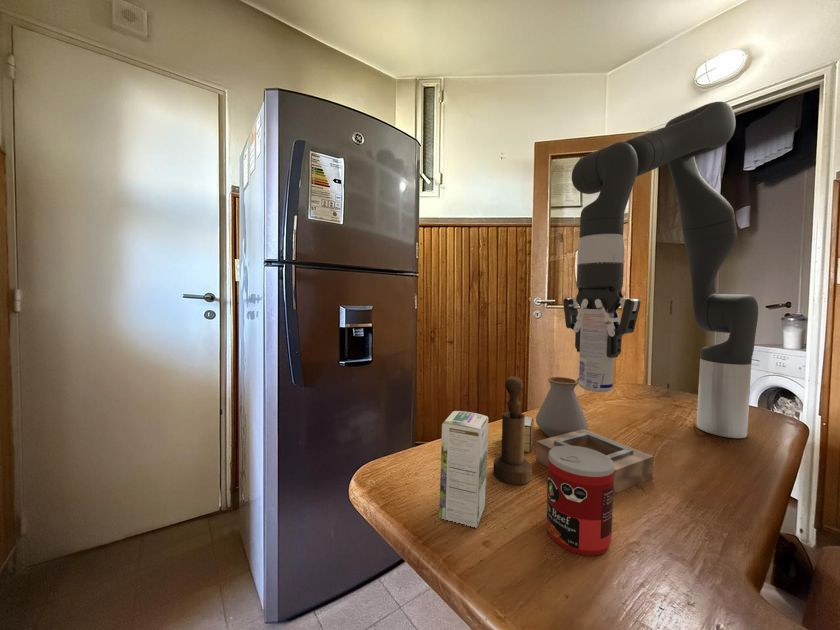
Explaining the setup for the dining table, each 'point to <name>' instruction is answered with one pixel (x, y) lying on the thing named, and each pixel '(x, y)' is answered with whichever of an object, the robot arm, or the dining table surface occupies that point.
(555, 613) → the dining table surface
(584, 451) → the canned food
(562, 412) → the coffee pot
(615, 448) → the block
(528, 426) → the puzzle toy
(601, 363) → the beverage can
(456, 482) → the syrup box
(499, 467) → the mortar and pestle
